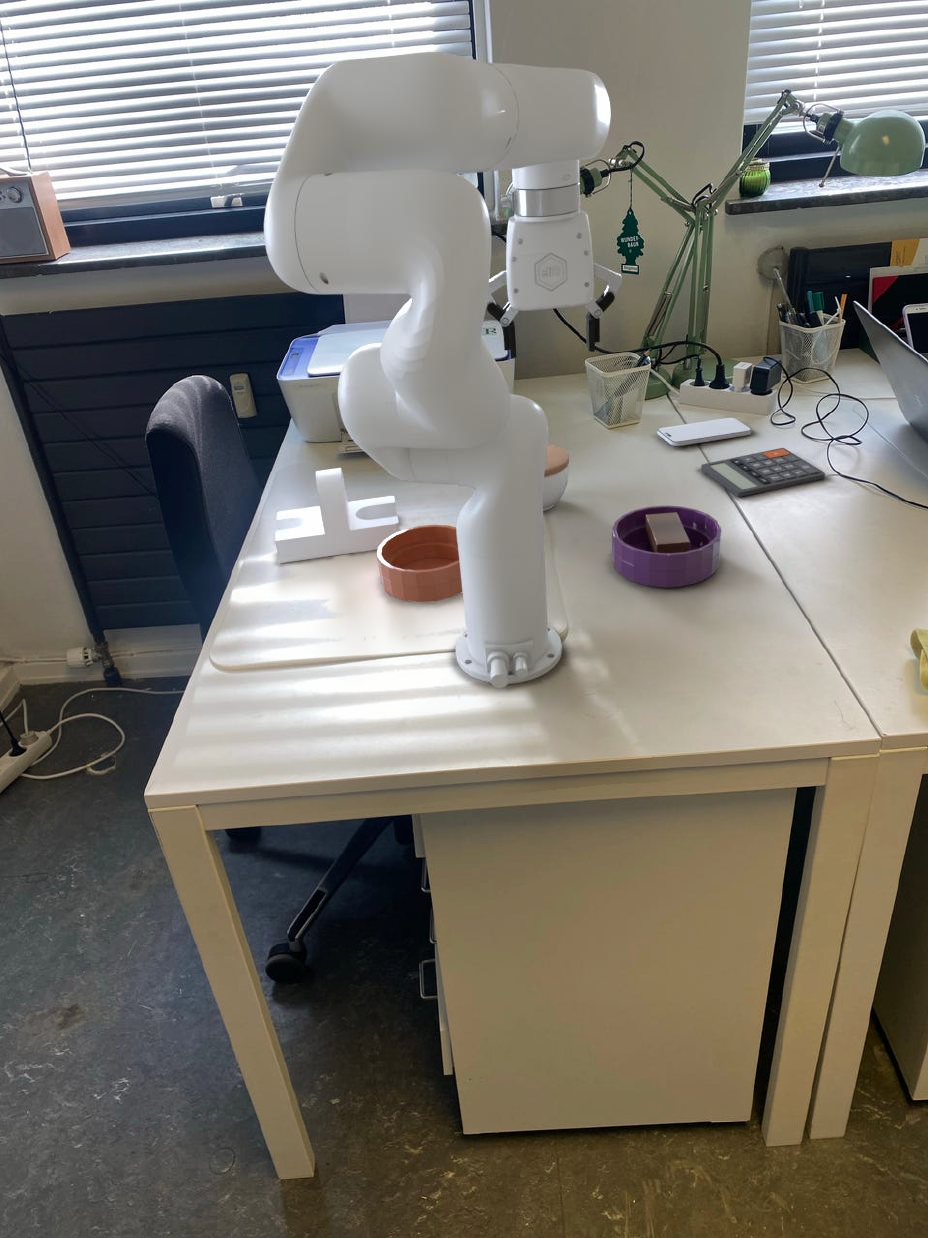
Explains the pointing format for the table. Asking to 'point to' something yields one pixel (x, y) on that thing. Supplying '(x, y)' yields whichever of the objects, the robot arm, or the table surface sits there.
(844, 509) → the table surface
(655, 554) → the plum bowl
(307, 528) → the white slotted stand
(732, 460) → the calculator
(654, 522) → the scrub brush
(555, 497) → the trinket box
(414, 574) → the terracotta bowl
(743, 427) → the smartphone
